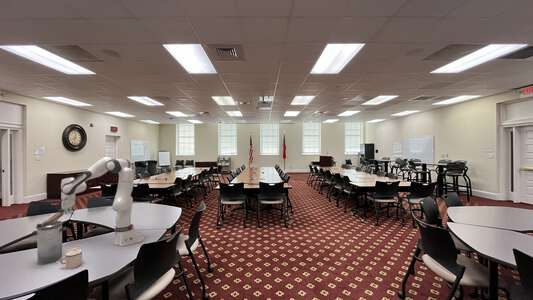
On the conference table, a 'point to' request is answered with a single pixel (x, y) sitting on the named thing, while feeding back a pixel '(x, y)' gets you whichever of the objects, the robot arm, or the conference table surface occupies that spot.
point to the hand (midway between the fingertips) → (68, 212)
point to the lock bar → (56, 216)
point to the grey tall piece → (49, 242)
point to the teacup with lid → (73, 258)
